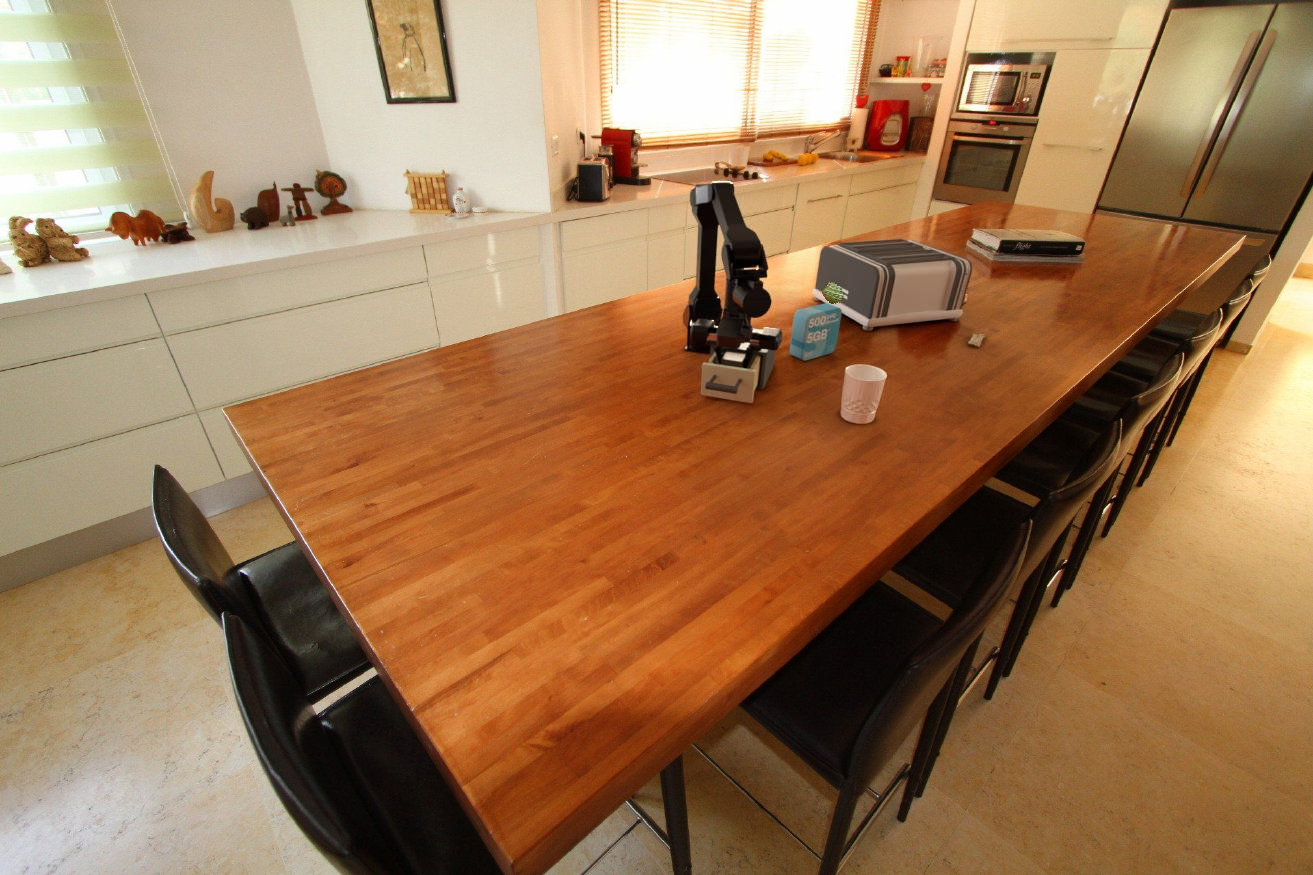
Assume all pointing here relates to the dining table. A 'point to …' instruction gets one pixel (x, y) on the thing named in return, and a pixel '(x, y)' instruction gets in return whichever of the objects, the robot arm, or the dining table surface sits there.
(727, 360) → the block
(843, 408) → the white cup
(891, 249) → the toaster
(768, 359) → the cabinet
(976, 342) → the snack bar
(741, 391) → the drawer
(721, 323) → the robot arm
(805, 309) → the data package
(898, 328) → the dining table surface
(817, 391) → the dining table surface
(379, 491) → the dining table surface
